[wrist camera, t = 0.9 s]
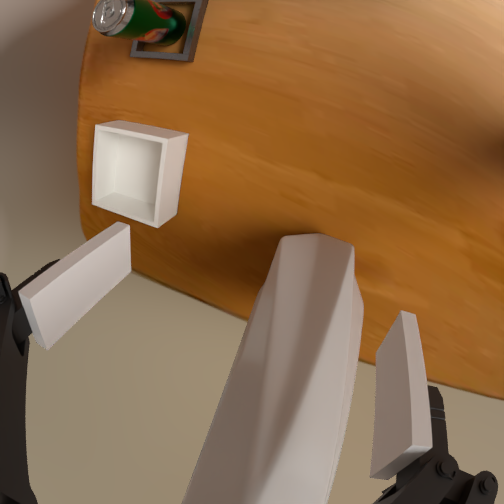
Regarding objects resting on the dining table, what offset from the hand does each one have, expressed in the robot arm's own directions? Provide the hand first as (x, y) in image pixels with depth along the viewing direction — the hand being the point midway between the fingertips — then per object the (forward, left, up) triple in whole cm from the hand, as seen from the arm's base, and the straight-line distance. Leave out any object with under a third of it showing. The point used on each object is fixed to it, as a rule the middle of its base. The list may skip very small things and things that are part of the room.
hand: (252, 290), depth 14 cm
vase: (+11, +5, -24) cm, 27 cm away
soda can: (-14, -21, -24) cm, 35 cm away
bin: (+5, -21, -24) cm, 32 cm away
